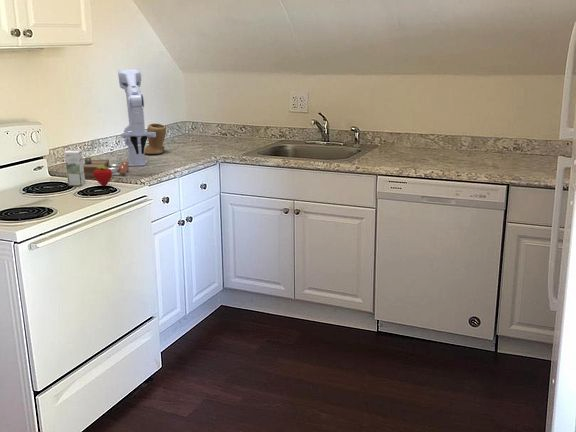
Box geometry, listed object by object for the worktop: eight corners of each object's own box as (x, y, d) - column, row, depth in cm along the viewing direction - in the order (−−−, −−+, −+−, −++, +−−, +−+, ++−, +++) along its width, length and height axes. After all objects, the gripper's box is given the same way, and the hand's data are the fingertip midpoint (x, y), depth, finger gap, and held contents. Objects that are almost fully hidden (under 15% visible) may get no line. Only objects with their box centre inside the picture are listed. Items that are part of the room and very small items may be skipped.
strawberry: (95, 185, 267) (92, 161, 264) (113, 184, 268) (111, 160, 265) (93, 188, 261) (91, 164, 258) (113, 187, 263) (110, 163, 260)
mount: (89, 170, 292) (88, 160, 291) (109, 170, 293) (108, 159, 291) (82, 178, 278) (81, 167, 276) (103, 178, 279) (102, 166, 277)
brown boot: (166, 155, 323) (164, 125, 319) (142, 156, 323) (139, 126, 319) (170, 149, 338) (168, 121, 334) (147, 150, 337) (145, 121, 333)
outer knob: (100, 173, 284) (99, 165, 283) (126, 173, 285) (125, 164, 284) (98, 176, 280) (97, 167, 279) (125, 175, 281) (124, 166, 280)
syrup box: (85, 182, 271) (82, 148, 267) (82, 186, 266) (78, 151, 261) (72, 182, 271) (68, 149, 267) (68, 186, 266) (63, 151, 261)
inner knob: (103, 170, 291) (102, 161, 290) (128, 169, 292) (128, 160, 290) (101, 172, 287) (100, 163, 286) (127, 171, 288) (126, 162, 287)
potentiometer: (85, 163, 285) (84, 155, 284) (92, 162, 285) (91, 154, 284) (84, 164, 282) (83, 156, 281) (90, 164, 283) (90, 156, 281)
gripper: (119, 124, 273) (121, 156, 277) (153, 123, 274) (155, 155, 278) (121, 122, 279) (124, 152, 283) (155, 121, 280) (157, 151, 284)
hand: (140, 153), depth 281 cm, fingers closed
